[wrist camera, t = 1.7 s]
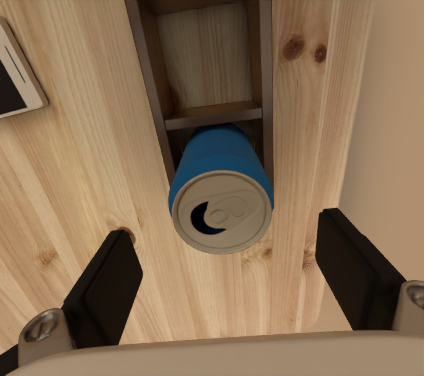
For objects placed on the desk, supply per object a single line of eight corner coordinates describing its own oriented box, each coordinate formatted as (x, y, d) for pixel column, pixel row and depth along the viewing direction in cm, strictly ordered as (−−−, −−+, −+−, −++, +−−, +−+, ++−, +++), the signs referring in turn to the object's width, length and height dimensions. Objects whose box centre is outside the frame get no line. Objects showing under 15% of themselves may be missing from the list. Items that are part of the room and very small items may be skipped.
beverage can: (175, 138, 23) (140, 197, 12) (232, 106, 21) (249, 140, 11) (206, 188, 25) (200, 273, 15) (259, 162, 24) (296, 235, 13)
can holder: (143, 5, 18) (119, -17, 14) (257, -15, 17) (271, -45, 13) (183, 193, 26) (177, 219, 21) (263, 184, 25) (274, 208, 21)
